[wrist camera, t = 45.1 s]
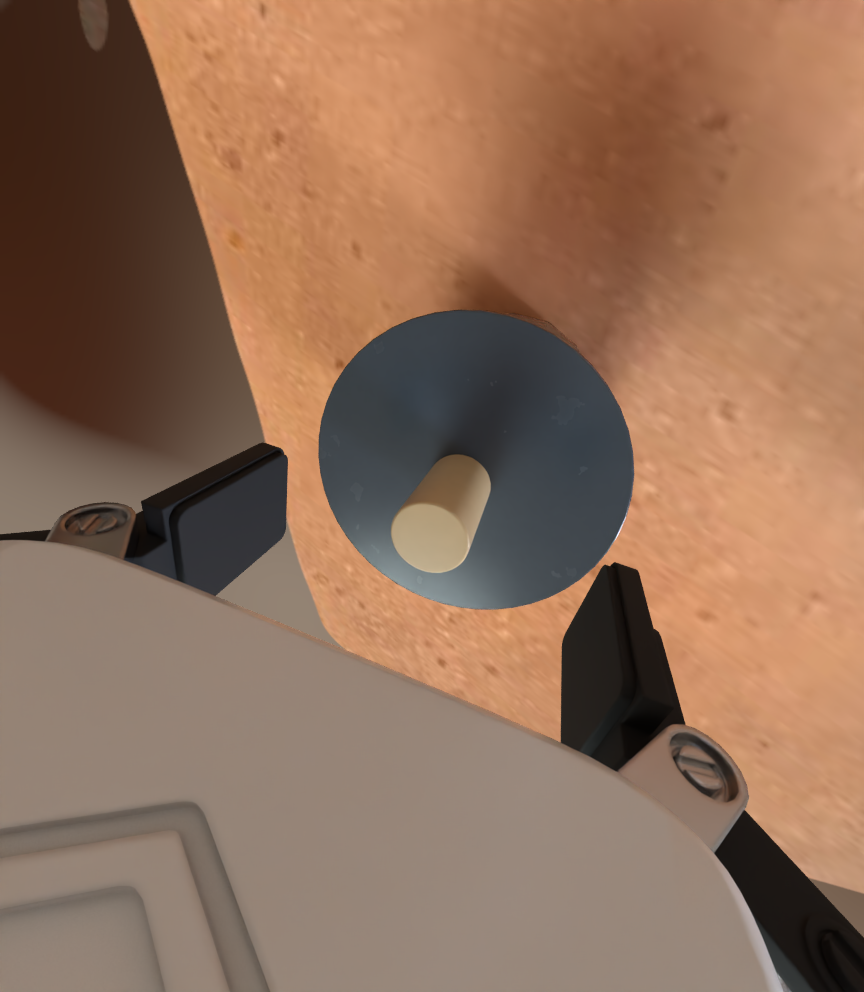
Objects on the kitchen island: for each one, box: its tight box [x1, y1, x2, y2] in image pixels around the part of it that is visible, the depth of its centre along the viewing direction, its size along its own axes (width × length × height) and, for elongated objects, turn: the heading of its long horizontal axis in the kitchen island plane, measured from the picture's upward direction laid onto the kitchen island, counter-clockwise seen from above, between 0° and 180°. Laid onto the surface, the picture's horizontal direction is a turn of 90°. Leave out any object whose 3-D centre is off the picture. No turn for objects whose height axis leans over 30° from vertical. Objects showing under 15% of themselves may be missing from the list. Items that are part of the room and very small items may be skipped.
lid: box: [319, 310, 634, 609], centre depth 15 cm, size 13×13×6 cm
